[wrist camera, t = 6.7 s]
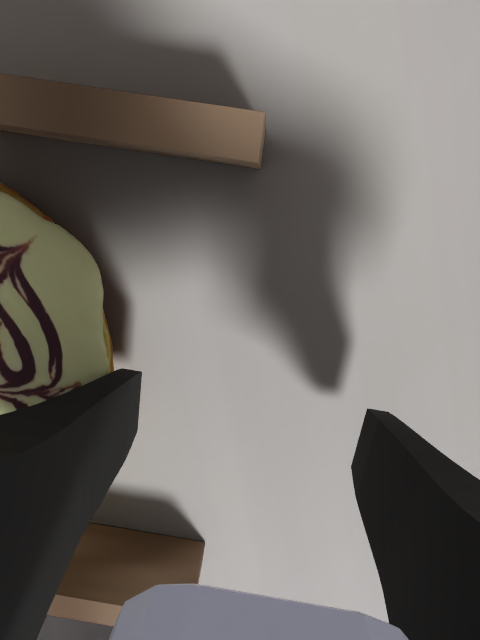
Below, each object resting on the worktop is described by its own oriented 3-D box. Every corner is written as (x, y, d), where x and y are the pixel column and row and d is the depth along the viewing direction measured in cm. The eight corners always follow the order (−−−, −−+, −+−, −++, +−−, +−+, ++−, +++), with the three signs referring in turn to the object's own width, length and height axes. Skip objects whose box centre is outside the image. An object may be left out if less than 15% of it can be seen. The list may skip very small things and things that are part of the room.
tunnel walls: (265, 131, 11) (264, 112, 9) (202, 561, 16) (188, 639, 14) (-11, 90, 12) (-102, 58, 9) (8, 528, 17) (-46, 598, 14)
